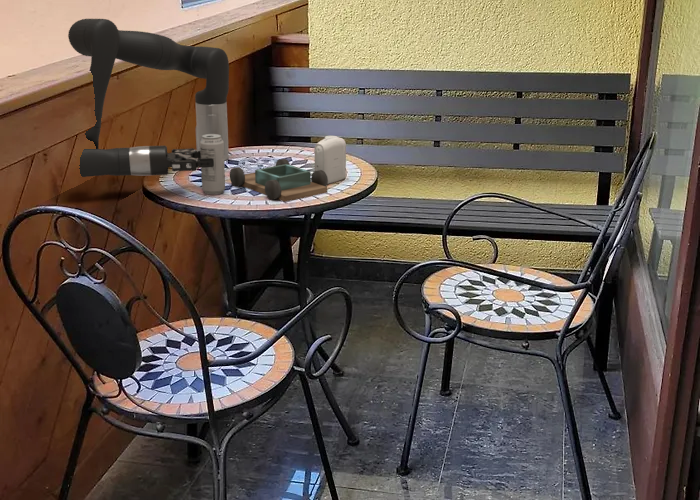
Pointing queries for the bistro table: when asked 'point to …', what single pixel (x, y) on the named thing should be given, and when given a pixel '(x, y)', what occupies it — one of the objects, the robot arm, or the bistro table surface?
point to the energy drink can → (214, 175)
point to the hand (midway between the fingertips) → (212, 158)
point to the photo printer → (331, 158)
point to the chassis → (282, 181)
